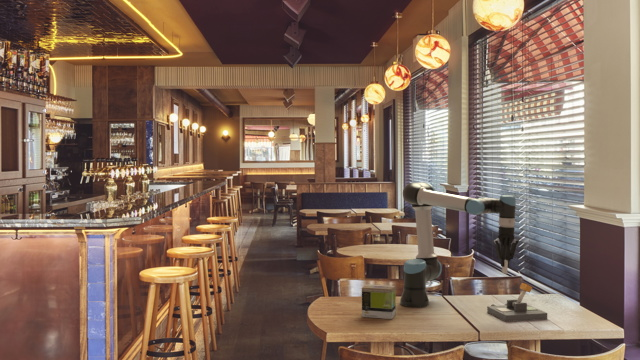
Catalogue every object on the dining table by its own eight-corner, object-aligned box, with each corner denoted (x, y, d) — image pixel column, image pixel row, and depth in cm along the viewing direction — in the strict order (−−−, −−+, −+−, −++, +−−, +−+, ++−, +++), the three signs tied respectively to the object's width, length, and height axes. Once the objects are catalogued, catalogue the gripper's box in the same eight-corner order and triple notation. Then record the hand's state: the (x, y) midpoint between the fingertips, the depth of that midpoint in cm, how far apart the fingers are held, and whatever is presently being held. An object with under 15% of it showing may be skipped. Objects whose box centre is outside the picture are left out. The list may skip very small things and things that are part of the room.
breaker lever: (515, 308, 287) (527, 284, 288) (510, 305, 291) (522, 282, 292) (520, 310, 287) (532, 287, 288) (515, 308, 292) (526, 285, 293)
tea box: (395, 314, 291) (396, 285, 290) (391, 320, 281) (391, 289, 281) (366, 312, 296) (366, 283, 295) (361, 317, 286) (361, 287, 286)
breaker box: (505, 321, 278) (505, 307, 278) (479, 308, 304) (479, 295, 304) (547, 319, 283) (547, 304, 283) (518, 306, 308) (518, 293, 308)
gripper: (498, 227, 288) (496, 274, 289) (522, 227, 291) (520, 274, 292) (490, 225, 295) (488, 271, 297) (514, 225, 298) (512, 271, 299)
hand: (504, 273), depth 294 cm, fingers closed
